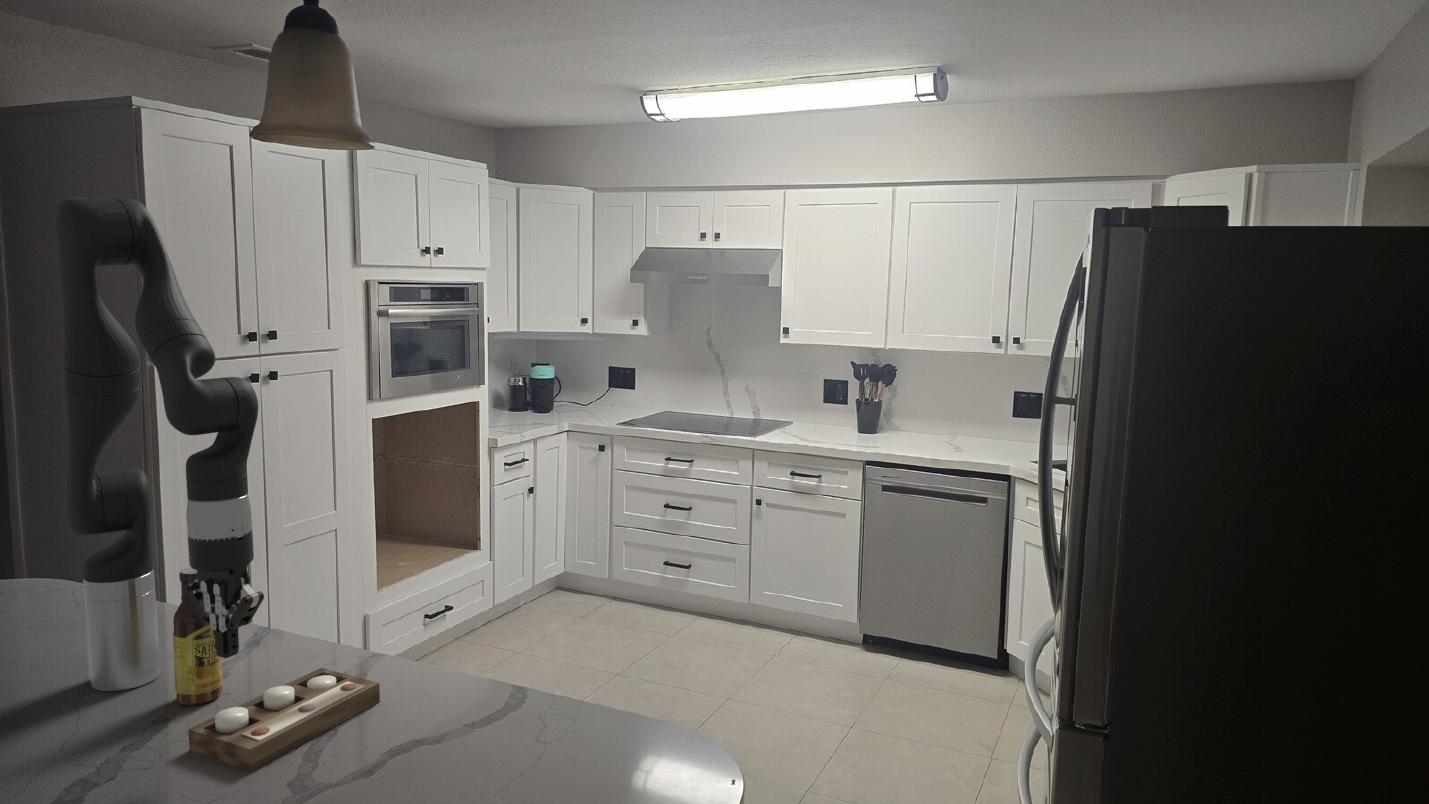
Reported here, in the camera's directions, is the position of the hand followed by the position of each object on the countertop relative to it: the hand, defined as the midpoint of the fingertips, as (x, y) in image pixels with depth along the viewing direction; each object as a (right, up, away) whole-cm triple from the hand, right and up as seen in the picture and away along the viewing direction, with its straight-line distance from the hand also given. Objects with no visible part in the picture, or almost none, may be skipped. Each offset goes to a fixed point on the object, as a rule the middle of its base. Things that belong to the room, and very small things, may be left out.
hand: (227, 655), depth 123 cm
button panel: (+5, -12, +8) cm, 15 cm away
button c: (0, -10, +1) cm, 10 cm away
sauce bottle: (-12, -11, +16) cm, 23 cm away
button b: (+3, -9, +8) cm, 13 cm away
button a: (+6, -10, +15) cm, 19 cm away
